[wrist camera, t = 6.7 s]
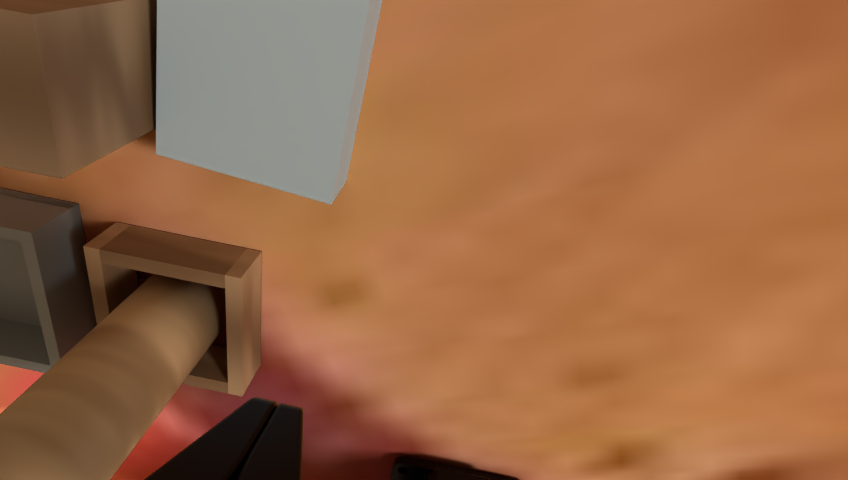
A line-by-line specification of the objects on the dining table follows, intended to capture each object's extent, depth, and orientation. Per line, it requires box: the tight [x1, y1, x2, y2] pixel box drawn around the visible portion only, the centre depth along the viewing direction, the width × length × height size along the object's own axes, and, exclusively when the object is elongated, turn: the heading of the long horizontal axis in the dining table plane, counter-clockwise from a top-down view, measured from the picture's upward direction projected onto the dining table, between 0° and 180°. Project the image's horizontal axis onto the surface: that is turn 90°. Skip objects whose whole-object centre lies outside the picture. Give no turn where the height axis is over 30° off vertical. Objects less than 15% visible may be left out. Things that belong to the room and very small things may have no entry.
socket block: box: [83, 222, 262, 396], centre depth 22 cm, size 6×6×2 cm
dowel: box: [0, 274, 226, 480], centre depth 19 cm, size 4×4×9 cm
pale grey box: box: [156, 0, 382, 204], centre depth 17 cm, size 8×6×2 cm
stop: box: [0, 0, 157, 179], centre depth 16 cm, size 4×4×6 cm
